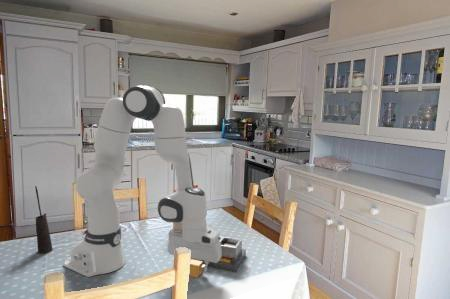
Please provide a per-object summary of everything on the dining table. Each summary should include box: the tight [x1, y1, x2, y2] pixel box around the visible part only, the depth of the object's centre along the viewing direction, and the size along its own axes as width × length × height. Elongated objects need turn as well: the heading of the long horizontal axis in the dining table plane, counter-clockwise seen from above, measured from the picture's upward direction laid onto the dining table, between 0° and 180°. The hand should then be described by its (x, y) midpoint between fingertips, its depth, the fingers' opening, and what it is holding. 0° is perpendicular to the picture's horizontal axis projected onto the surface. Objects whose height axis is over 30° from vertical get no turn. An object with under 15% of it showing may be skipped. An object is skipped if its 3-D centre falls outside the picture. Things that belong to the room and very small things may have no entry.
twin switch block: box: [191, 236, 247, 273], centre depth 124 cm, size 20×14×8 cm
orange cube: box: [189, 259, 203, 278], centre depth 114 cm, size 4×4×4 cm
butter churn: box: [34, 185, 54, 254], centre depth 128 cm, size 9×10×28 cm
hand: (194, 268), depth 114 cm, fingers open, 7 cm apart
